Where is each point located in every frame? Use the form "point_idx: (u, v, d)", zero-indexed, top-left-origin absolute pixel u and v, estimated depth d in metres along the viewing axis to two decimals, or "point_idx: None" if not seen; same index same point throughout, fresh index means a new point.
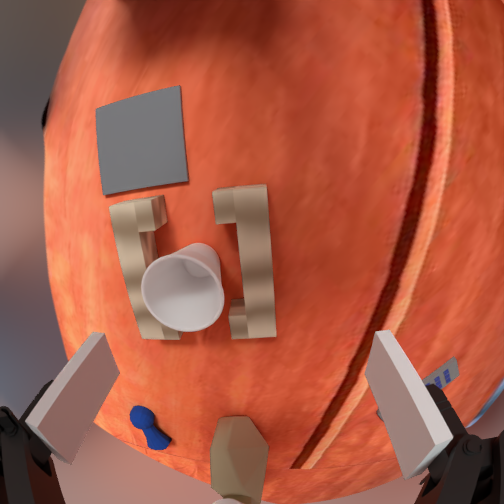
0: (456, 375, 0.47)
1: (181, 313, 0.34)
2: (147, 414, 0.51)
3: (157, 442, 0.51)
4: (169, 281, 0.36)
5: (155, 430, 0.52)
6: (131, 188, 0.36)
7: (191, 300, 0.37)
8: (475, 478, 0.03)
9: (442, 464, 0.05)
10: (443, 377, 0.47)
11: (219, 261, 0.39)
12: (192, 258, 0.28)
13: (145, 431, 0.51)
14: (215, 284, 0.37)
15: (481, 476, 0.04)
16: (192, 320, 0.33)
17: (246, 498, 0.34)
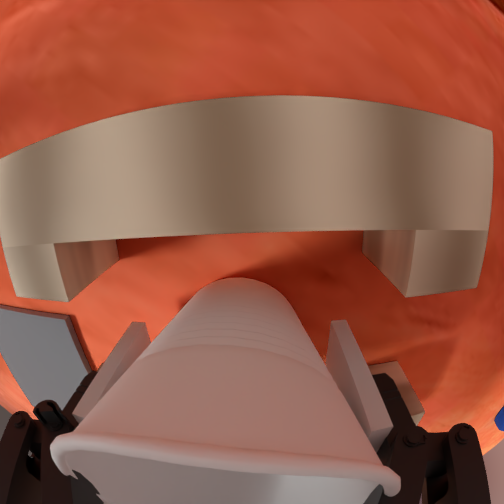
0: None
1: None
2: None
3: None
4: None
5: None
6: None
7: None
8: (422, 470, 0.04)
9: (385, 457, 0.06)
10: None
11: (224, 284, 0.12)
12: (54, 461, 0.04)
13: None
14: (283, 317, 0.11)
15: (433, 472, 0.05)
16: None
17: None
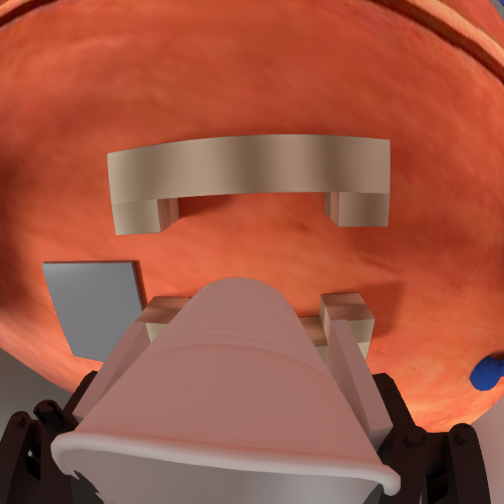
0: None
1: None
2: (485, 366, 0.28)
3: None
4: None
5: None
6: None
7: None
8: (422, 469, 0.04)
9: (385, 457, 0.06)
10: None
11: (224, 284, 0.12)
12: (54, 460, 0.04)
13: (503, 374, 0.27)
14: None
15: (433, 472, 0.05)
16: None
17: None
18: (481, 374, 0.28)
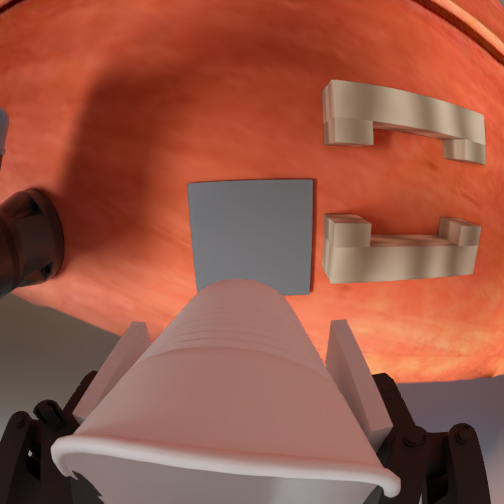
0: None
1: None
2: None
3: None
4: None
5: None
6: (309, 254, 0.32)
7: None
8: (422, 470, 0.04)
9: (385, 457, 0.06)
10: None
11: (224, 286, 0.12)
12: None
13: None
14: None
15: (433, 472, 0.05)
16: None
17: None
18: None
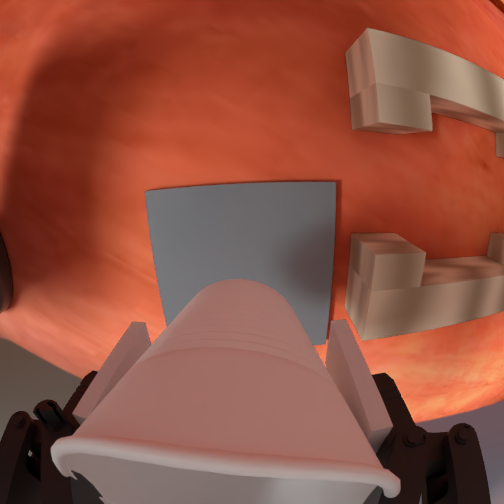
0: None
1: None
2: None
3: None
4: None
5: None
6: (328, 293, 0.21)
7: None
8: (422, 469, 0.04)
9: (385, 457, 0.06)
10: None
11: (224, 286, 0.12)
12: (54, 463, 0.04)
13: None
14: (283, 319, 0.10)
15: (433, 472, 0.05)
16: None
17: None
18: None
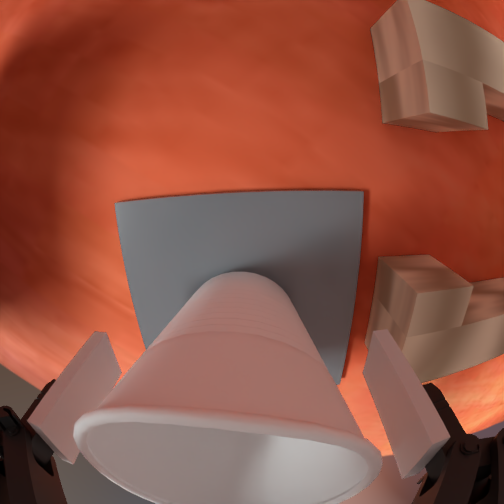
0: None
1: None
2: None
3: None
4: None
5: None
6: (347, 329, 0.17)
7: None
8: (473, 477, 0.03)
9: (439, 464, 0.05)
10: None
11: (227, 278, 0.14)
12: (75, 440, 0.05)
13: None
14: (281, 308, 0.12)
15: (479, 476, 0.04)
16: None
17: None
18: None
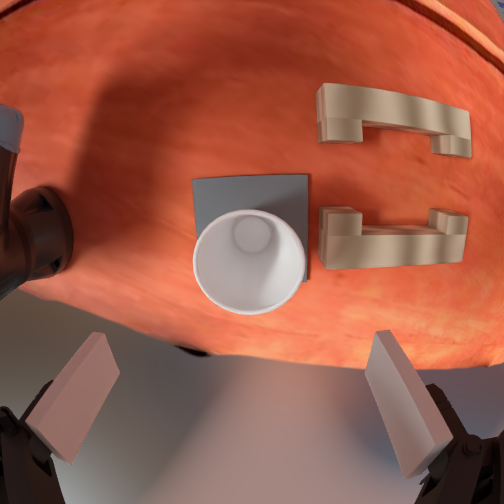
0: None
1: (290, 268, 0.27)
2: None
3: None
4: (259, 275, 0.31)
5: None
6: (306, 244, 0.34)
7: (285, 251, 0.29)
8: (475, 478, 0.03)
9: (442, 464, 0.05)
10: None
11: None
12: (196, 244, 0.23)
13: None
14: None
15: (481, 476, 0.04)
16: (297, 256, 0.25)
17: None
18: None
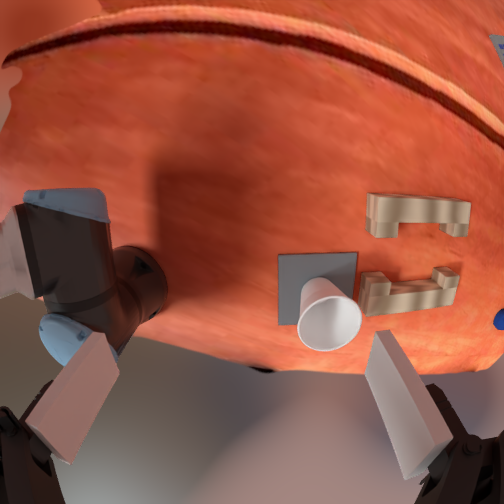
0: None
1: (349, 321, 0.41)
2: (501, 314, 0.49)
3: None
4: (325, 322, 0.45)
5: None
6: (351, 297, 0.48)
7: (343, 308, 0.43)
8: (475, 478, 0.03)
9: (442, 464, 0.05)
10: None
11: (317, 279, 0.46)
12: (302, 314, 0.37)
13: None
14: (334, 286, 0.44)
15: (481, 476, 0.04)
16: (355, 316, 0.39)
17: None
18: (500, 318, 0.49)
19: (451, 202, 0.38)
